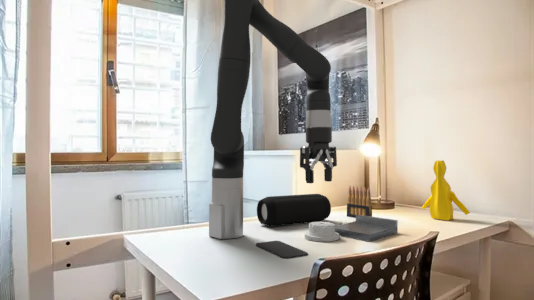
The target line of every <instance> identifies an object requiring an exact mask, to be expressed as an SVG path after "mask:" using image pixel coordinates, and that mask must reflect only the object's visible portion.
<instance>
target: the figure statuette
mask: <svg viewBox="0 0 534 300" xmlns="http://www.w3.org/2000/svg"><path fill="white" fill-rule="evenodd" d="M432 167H433V168H432V169H433V172H434V174H435V179H434V181H433V182H432V184H431V185H430V193H431V195H430V196H429V197H428V198H427V200H426V201H425V203H424V204H423V205H422V206H421V208H422V210H425V209H426V208H429V215H430V217H431V218H432V219H436V220H441V221H450V220H451V221H452V220H454V208H453V207H454V206H453V204H454V205H456V206H457V207H458V208H459V209H460V210H461V211H462V213H464V215H465V216H467V215H469V214H470V213H471V212H470V211H469V209H468V208H467V207H466V206H465V204H463V202H461V201H460V199H458V197H457V196H456V194H455V192H454V191H452V188H451V185H450V184H449V182H448V181H447V179H446V178H445V174H446V173H447V165H446V162H445V160H435V161H434V164H433V166H432ZM452 202H453V204H452Z"/></svg>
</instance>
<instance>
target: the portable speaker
mask: <svg viewBox="0 0 534 300" xmlns="http://www.w3.org/2000/svg"><path fill="white" fill-rule="evenodd" d="M331 211H332V205H331V202H330V199H329V198H328V197H327V196H326V195H323V194H320V193H309V194H305V193H304V194H291V195H275V196H272V195H271V196H266V197H264V198H262V199H260V200H258V202H257V205H256V215H257V219H258V221H259V222H260V225H261V224H262V225H264V226H267V227H269V228H271V227H279V226H280V227H281V226H290V225H300V224H308V223H312V222H324V220H325V219H327V218H329V217H330V215H331V213H332V212H331Z"/></svg>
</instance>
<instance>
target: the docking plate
mask: <svg viewBox="0 0 534 300" xmlns="http://www.w3.org/2000/svg"><path fill="white" fill-rule="evenodd" d="M398 230H399V229H398V219H391V218H386V217H385V218H383V217H376V216H372V217H371V216H364V215H356V218H355V221H350V222H346V223H342V224H337V225H335V232H336V233H338V234H339V237H344V238H347V239H349V238H350V239H353V240H359V241H364V242H370V243H371V242H373V241H376V240H377V241H378V240H380V239H384V238H387V237H389V236H393V235H396V234H398V233H399V232H398Z"/></svg>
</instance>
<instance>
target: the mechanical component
mask: <svg viewBox="0 0 534 300" xmlns="http://www.w3.org/2000/svg"><path fill="white" fill-rule="evenodd" d="M335 226H336V225H335V223H332V222H328V221H320V222H311V223H309V224H308V230H307V231H305V232H304V239H306V240H308V241H312V242H334V241H338V240H339V239H340V236H339V234H338V233H336V232H335Z"/></svg>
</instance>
